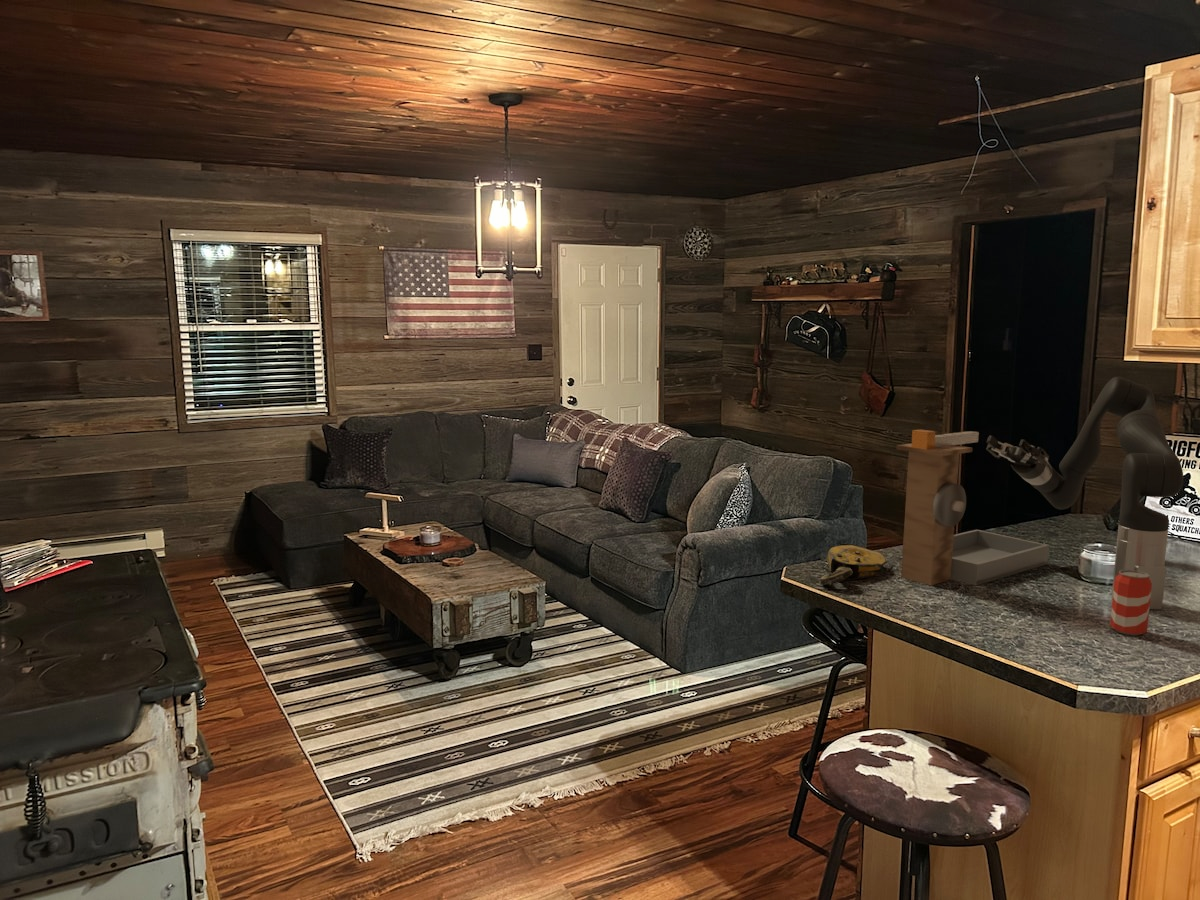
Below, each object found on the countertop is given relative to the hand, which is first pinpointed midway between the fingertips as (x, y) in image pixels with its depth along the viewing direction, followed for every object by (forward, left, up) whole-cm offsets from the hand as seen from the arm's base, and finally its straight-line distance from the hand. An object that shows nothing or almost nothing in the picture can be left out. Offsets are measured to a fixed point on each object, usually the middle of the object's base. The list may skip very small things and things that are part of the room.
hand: (1005, 440), depth 224 cm
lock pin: (-15, +20, +1) cm, 25 cm away
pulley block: (-15, +42, -32) cm, 55 cm away
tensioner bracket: (-18, +24, -31) cm, 43 cm away
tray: (-5, +7, -31) cm, 32 cm away
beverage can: (-53, -4, -31) cm, 61 cm away
